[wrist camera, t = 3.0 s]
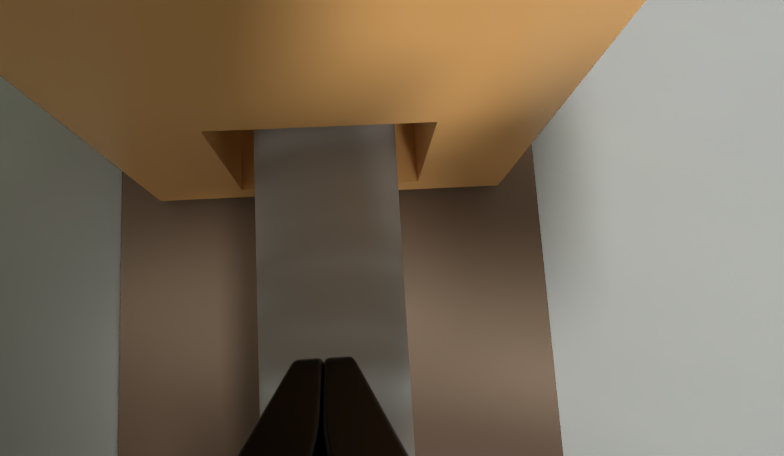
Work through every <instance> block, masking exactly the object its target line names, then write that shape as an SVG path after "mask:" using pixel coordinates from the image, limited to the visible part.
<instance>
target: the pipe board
mask: <svg viewBox="0 0 784 456" xmlns="http://www.w3.org/2000/svg"><path fill="white" fill-rule="evenodd" d="M253 133H254V178H255V197H238V198H216V199H195V200H173V201H160V200H159V199H157V198H156V197H155V196H154V195H152V194H151V193H150V192H149V191H147V190H146V189H145V188H143V187H142V186H141V185H140V184H138V183H137V182H136V181H134V180H133V179H132V178H131V177H129V176H128V175H127V174H126V173H124V172H123V171H122V223H121V287H120V351H119V415H118V456H237V455H238V453H239V452H240V450H241V448H242V447H243V445H244V443H245V441H246V440H247V438H248V436H249V435H250V433H251V431H252V430H253V428H254V426H255V425H256V423H257V421H258V420H259V418H260V416H261V414H262V413H263V411H264V409H265V408H266V406H267V404H268V403H269V401H270V399H271V398H272V396H273V394H274V393H275V391H276V389H277V387H278V386H279V384H280V382H281V381H282V379H283V377H284V376H285V374H286V372H287V371H288V369H289V367H290V366H291V364H292V363H293V362H294V361H295V360H298V359H314V358H320V359H322V361H323V362H324V361H325V359H327V358H330V357H347V356H350V357H353V358H354V359H355V360H356V362H357V364H358V366H359V367H360V369H361V371H362V373H363V375H364V376H365V378H366V380H367V382H368V383H369V385H370V387H371V389H372V391H373V392H374V394H375V396H376V398H377V400H378V401H379V403H380V405H381V407H382V409H383V410H384V412H385V414H386V416H387V418H388V419H389V421H390V423H391V425H392V427H393V428H394V430H395V432H396V434H397V435H398V437H399V439H400V441H401V443H402V444H403V446H404V448H405V450H406V452H407V453H408V455H409V456H563V450H562V440H561V430H560V420H559V410H558V401H557V391H556V381H555V371H554V361H553V351H552V342H551V332H550V322H549V312H548V302H547V292H546V283H545V273H544V263H543V253H542V243H541V234H540V224H539V214H538V204H537V194H536V184H535V175H534V165H533V155H532V145H530V146H529V147H528V148H527V150H526V151H525V152H524V153H523V155H522V156H521V157H520V158H519V160H518V161H517V162H516V163H515V165H514V166H513V167H512V168H511V170H510V171H509V172H508V173H507V175H506V176H505V177H504V178H503V180H502V181H501V182H500V183H499V185H496V186H474V187H453V188H431V189H410V190H398V175H397V159H396V143H395V127H394V124H376V125H352V126H327V127H303V128H279V129H254V130H253Z"/></svg>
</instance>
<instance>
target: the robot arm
mask: <svg viewBox="0 0 784 456" xmlns="http://www.w3.org/2000/svg"><path fill="white" fill-rule="evenodd" d="M237 456H409V455H408V453H407V452H406V450H405V448H404V446H403V444H402V443H401V441H400V439H399V437H398V435H397V434H396V432H395V430H394V428H393V427H392V425H391V423H390V421H389V419H388V418H387V416H386V414H385V412H384V410H383V409H382V407H381V405H380V403H379V401H378V400H377V398H376V396H375V394H374V392H373V391H372V389H371V387H370V385H369V383H368V382H367V380H366V378H365V376H364V375H363V373H362V371H361V369H360V367H359V366H358V364H357V362H356V360H355V359H354V358H353V357H350V356H347V357H330V358H327V359H325V361H324V362H323V361H322V359H320V358H314V359H298V360H295V361H294V362H293V363H292V364H291V366H290V367H289V369H288V371H287V372H286V374H285V376H284V377H283V379H282V381H281V382H280V384H279V386H278V387H277V389H276V391H275V393H274V394H273V396H272V398H271V399H270V401H269V403H268V404H267V406H266V408H265V409H264V411H263V413H262V414H261V416H260V418H259V420H258V421H257V423H256V425H255V426H254V428H253V430H252V431H251V433H250V435H249V436H248V438H247V440H246V441H245V443H244V445H243V447H242V448H241V450H240V452H239V453H238V455H237Z"/></svg>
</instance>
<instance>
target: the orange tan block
mask: <svg viewBox="0 0 784 456" xmlns="http://www.w3.org/2000/svg"><path fill="white" fill-rule="evenodd" d="M645 1H646V0H0V76H2V77H3V78H4V79H5V80H7V81H8V82H9V83H10V84H12V85H13V86H14V87H16V88H17V89H18V90H19V91H21V92H22V93H23V94H25V95H26V96H27V97H28V98H30V99H31V100H32V101H33V102H35V103H36V104H37V105H39V106H40V107H41V108H42V109H44V110H45V111H46V112H48V113H49V114H50V115H51V116H53V117H54V118H55V119H56V120H58V121H59V122H60V123H62V124H63V125H64V126H65V127H67V128H68V129H69V130H71V131H72V132H73V133H74V134H76V135H77V136H78V137H79V138H81V139H82V140H83V141H85V142H86V143H87V144H88V145H90V146H91V147H92V148H94V149H95V150H96V151H97V152H99V153H100V154H101V155H103V156H104V157H105V158H106V159H108V160H109V161H110V162H111V163H113V164H114V165H115V166H117V167H118V168H119V169H120V170H122V171H123V172H124V173H126V174H127V175H128V176H129V177H131V178H132V179H133V180H134V181H136V182H137V183H138V184H140V185H141V186H142V187H143V188H145V189H146V190H147V191H149V192H150V193H151V194H152V195H154V196H155V197H156V198H157V199H159V200H160V201H173V200H195V199H216V198H238V197H255V178H254V133H253V130H254V129H279V128H303V127H327V126H352V125H376V124H394V127H395V143H396V159H397V175H398V190H410V189H431V188H453V187H474V186H496V185H499V183H500V182H501V181H502V180H503V178H504V177H505V176H506V175H507V173H508V172H509V171H510V170H511V168H512V167H513V166H514V165H515V163H516V162H517V161H518V160H519V158H520V157H521V156H522V155H523V153H524V152H525V151H526V150H527V148H528V147H529V146H530V145H531V143H532V142H533V141H534V140H535V138H536V137H537V136H538V135H539V133H540V132H541V131H542V130H543V128H544V127H545V126H546V125H547V123H548V122H549V121H550V120H551V118H552V117H553V116H554V115H555V113H556V112H557V111H558V110H559V108H560V107H561V106H562V105H563V103H564V102H565V101H566V100H567V98H568V97H569V96H570V95H571V93H572V92H573V91H574V90H575V88H576V87H577V86H578V85H579V83H580V82H581V81H582V80H583V78H584V77H585V76H586V75H587V73H588V72H589V71H590V70H591V68H592V67H593V66H594V65H595V63H596V62H597V61H598V60H599V58H600V57H601V56H602V55H603V53H604V52H605V51H606V50H607V48H608V47H609V46H610V45H611V43H612V42H613V41H614V40H615V38H616V37H617V36H618V35H619V33H620V32H621V31H622V30H623V28H624V27H625V26H626V25H627V23H628V22H629V21H630V20H631V18H632V17H633V16H634V15H635V13H636V12H637V11H638V10H639V8H640V7H641V6H642V5H643V3H644V2H645Z"/></svg>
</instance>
